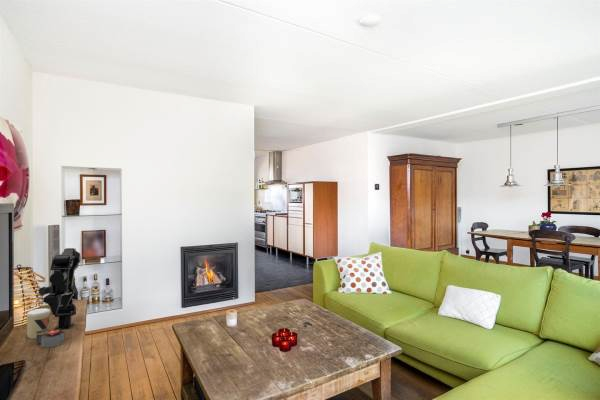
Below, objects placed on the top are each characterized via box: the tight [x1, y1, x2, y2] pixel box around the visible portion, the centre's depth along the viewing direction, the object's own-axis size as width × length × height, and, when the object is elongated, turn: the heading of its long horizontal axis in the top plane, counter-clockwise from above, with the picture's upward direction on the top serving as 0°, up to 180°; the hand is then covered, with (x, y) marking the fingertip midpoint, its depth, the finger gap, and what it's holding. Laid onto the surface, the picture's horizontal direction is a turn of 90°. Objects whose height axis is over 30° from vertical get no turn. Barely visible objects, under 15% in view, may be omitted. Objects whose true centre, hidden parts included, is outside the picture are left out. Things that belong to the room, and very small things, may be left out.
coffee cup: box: [26, 308, 52, 339], centre depth 163 cm, size 9×9×12 cm
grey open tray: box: [35, 330, 65, 348], centre depth 154 cm, size 8×11×4 cm
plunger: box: [47, 328, 60, 335], centre depth 154 cm, size 4×4×5 cm
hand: (59, 311), depth 161 cm, fingers open, 9 cm apart
